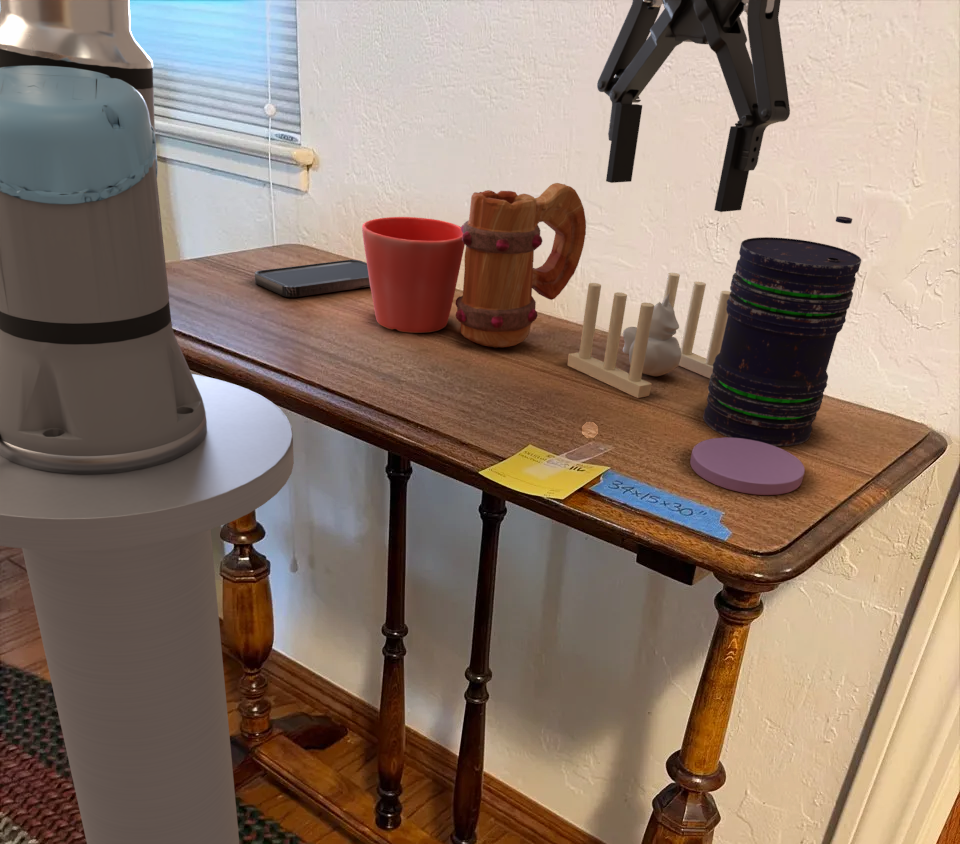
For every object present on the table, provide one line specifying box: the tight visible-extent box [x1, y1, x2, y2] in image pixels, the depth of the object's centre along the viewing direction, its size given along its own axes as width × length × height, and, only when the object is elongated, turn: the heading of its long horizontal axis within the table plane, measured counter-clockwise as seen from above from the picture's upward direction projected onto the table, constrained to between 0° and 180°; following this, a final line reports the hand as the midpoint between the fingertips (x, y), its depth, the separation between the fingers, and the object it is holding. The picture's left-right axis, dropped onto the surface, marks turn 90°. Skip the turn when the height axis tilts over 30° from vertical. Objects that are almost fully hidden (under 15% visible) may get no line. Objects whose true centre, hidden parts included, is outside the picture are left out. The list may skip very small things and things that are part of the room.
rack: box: [567, 272, 731, 399], centre depth 94 cm, size 13×10×8 cm
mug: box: [455, 182, 587, 349], centre depth 98 cm, size 15×8×15 cm, turn 122°
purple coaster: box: [689, 437, 806, 496], centre depth 78 cm, size 9×9×1 cm
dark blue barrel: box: [702, 215, 862, 447], centre depth 81 cm, size 10×10×18 cm
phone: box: [254, 259, 371, 298], centre depth 113 cm, size 8×1×15 cm
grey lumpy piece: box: [622, 294, 681, 377], centre depth 94 cm, size 5×7×8 cm
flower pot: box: [361, 216, 466, 334], centre depth 101 cm, size 11×11×10 cm
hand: (670, 195), depth 88 cm, fingers open, 13 cm apart
